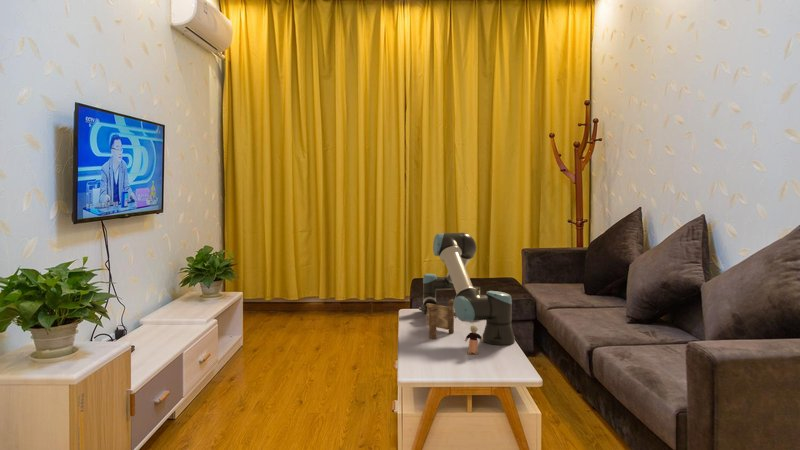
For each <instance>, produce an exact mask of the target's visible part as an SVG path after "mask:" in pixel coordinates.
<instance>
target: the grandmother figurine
mask: <svg viewBox="0 0 800 450" xmlns="http://www.w3.org/2000/svg"><path fill="white" fill-rule="evenodd" d="M469 329H470V332H469V333H468V334H467V335H466V337H465V340H464V341H465V342H467V341H468V340H469V341H468V351H467V355H472V354H473V355H478V347H479V343H478V342H479V341H480V342H481V343H483V342H484V341H483V340H482V336H481V335H480V334H479V333H477V332H478V329H479V328H478V327H477V325H475V324H472V325H470V327H469ZM478 340H479V341H478Z"/></svg>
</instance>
